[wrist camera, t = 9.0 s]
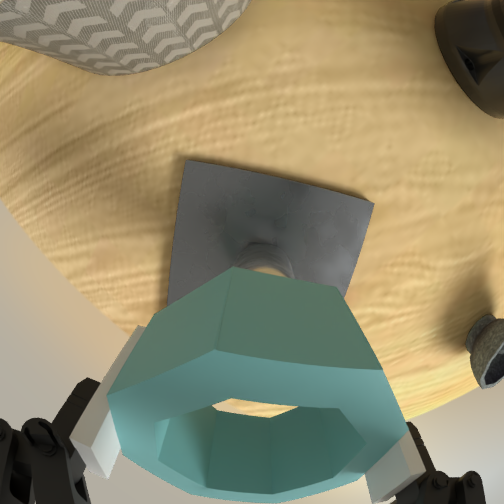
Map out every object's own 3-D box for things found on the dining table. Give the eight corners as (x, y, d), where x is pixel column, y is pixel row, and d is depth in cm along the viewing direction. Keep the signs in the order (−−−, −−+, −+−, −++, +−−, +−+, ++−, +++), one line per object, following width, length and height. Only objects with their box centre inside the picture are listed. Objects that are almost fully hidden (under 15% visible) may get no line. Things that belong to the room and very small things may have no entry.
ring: (158, 249, 10) (93, 315, 6) (395, 297, 11) (455, 368, 6) (154, 410, 13) (131, 478, 9) (319, 434, 14) (330, 501, 9)
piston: (189, 159, 22) (132, 159, 12) (370, 201, 22) (439, 232, 12) (168, 321, 27) (130, 395, 17) (318, 350, 27) (339, 430, 17)
